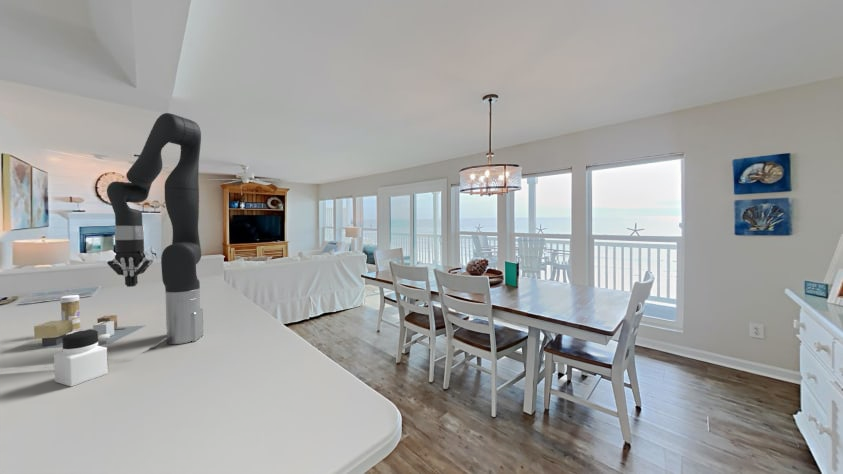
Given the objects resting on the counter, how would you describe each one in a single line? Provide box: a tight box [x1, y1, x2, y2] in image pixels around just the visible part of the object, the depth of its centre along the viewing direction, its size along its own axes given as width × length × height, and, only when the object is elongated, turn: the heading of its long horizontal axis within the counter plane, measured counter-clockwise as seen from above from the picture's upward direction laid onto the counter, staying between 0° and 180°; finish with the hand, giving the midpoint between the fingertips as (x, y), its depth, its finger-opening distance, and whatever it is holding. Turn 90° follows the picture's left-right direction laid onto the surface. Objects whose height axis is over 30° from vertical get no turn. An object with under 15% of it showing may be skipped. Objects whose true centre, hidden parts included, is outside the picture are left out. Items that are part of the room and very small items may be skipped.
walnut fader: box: [96, 314, 118, 329], centre depth 109 cm, size 4×4×5 cm
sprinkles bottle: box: [59, 294, 81, 331], centre depth 110 cm, size 5×5×14 cm
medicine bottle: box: [53, 328, 109, 387], centre depth 78 cm, size 7×7×12 cm
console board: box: [30, 324, 147, 350], centre depth 103 cm, size 20×18×5 cm
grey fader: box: [92, 321, 114, 336], centre depth 102 cm, size 4×4×5 cm
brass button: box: [33, 319, 74, 340], centre depth 97 cm, size 6×6×4 cm
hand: (131, 286), depth 110 cm, fingers closed
